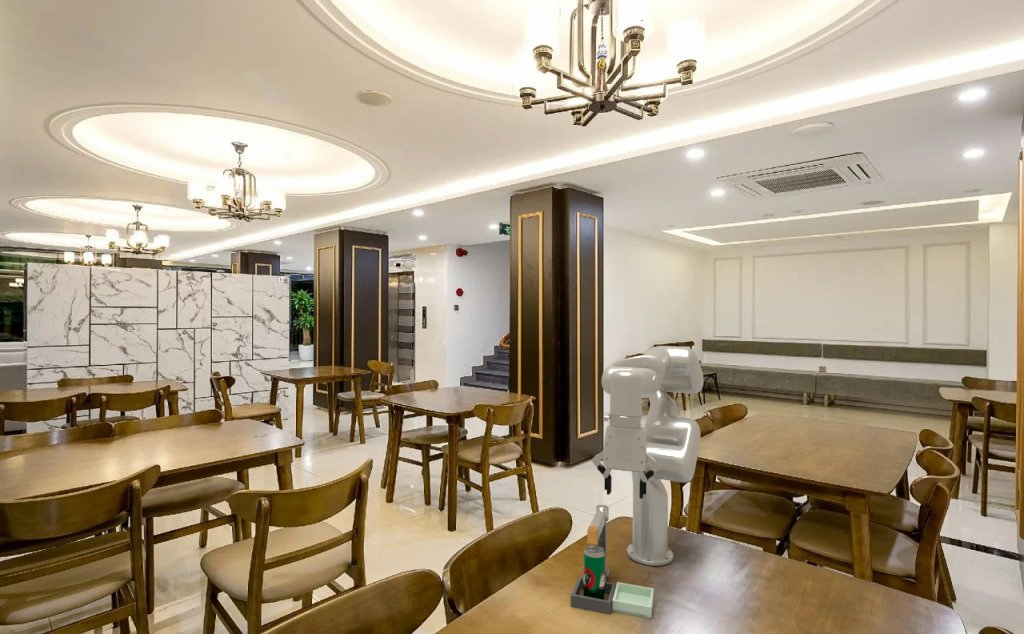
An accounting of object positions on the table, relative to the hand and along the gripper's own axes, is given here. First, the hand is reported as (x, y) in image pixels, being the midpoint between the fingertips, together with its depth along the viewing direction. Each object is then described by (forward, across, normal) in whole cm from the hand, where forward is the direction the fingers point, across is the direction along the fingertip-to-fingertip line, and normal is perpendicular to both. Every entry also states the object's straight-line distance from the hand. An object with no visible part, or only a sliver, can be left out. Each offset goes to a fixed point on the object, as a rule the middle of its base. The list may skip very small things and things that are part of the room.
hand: (625, 494), depth 121 cm
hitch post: (+24, -6, +4) cm, 25 cm away
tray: (+24, +3, -4) cm, 24 cm away
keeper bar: (+9, -6, 0) cm, 11 cm away
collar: (+24, -6, -6) cm, 25 cm away
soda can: (+24, -6, -6) cm, 25 cm away
